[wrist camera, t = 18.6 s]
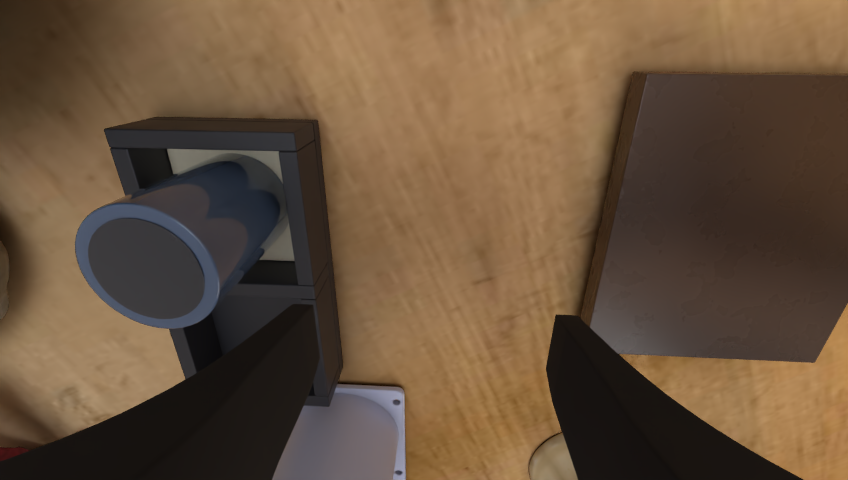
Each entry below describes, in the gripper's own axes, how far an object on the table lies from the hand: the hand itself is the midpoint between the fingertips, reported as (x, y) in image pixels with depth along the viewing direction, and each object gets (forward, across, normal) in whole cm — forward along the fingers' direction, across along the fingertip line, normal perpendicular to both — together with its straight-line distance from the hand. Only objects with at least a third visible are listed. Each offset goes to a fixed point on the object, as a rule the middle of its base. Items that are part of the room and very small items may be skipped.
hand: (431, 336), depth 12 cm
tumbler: (+9, +10, -1) cm, 13 cm away
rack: (+10, +10, +3) cm, 14 cm away
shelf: (+10, -14, 0) cm, 17 cm away
